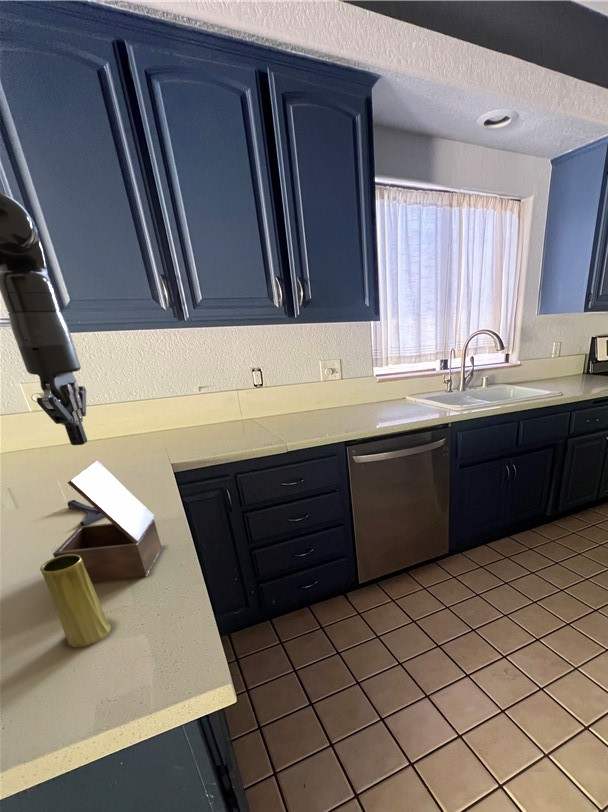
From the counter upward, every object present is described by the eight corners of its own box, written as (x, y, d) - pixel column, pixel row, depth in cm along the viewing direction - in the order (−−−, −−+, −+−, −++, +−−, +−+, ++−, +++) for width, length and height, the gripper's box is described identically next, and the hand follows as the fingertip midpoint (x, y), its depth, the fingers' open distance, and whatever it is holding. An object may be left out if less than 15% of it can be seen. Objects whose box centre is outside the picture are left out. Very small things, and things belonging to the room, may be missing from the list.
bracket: (95, 499, 123) (92, 490, 122) (134, 505, 118) (131, 496, 117) (45, 520, 111) (41, 510, 110) (86, 528, 106) (82, 518, 105)
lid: (67, 482, 75) (70, 480, 75) (93, 462, 85) (97, 460, 85) (134, 543, 82) (138, 541, 82) (151, 518, 92) (154, 516, 92)
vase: (97, 620, 74) (69, 549, 68) (119, 630, 72) (93, 557, 65) (60, 642, 69) (26, 568, 63) (83, 654, 67) (51, 578, 60)
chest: (66, 588, 83) (52, 553, 80) (91, 557, 93) (79, 526, 90) (147, 578, 85) (137, 544, 82) (162, 550, 96) (153, 519, 92)
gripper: (41, 340, 76) (73, 436, 83) (-5, 346, 64) (38, 456, 71) (87, 339, 77) (115, 433, 84) (51, 344, 65) (87, 453, 73)
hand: (79, 443), depth 78 cm, fingers closed
